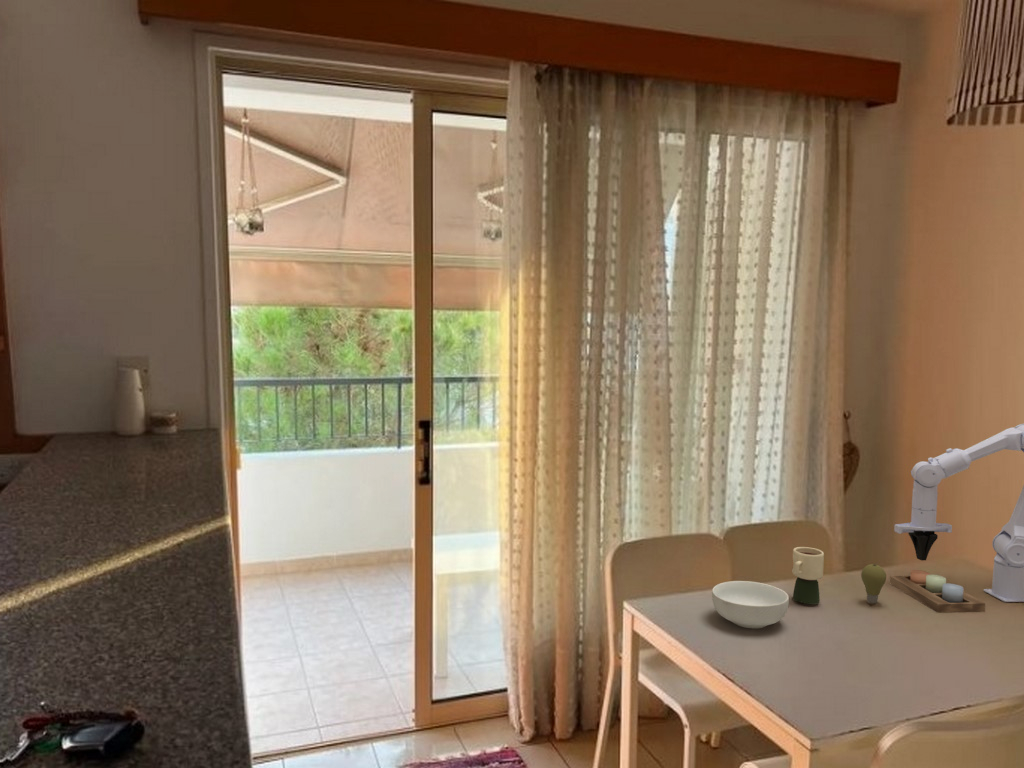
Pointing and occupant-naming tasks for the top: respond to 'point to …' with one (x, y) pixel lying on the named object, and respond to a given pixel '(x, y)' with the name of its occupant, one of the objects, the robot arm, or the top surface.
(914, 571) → the orange rounded lump
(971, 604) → the wooden compartment tray
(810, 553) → the character mug
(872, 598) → the light bulb
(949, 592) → the grey rounded piece
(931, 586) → the sage button
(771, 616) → the cereal bowl
